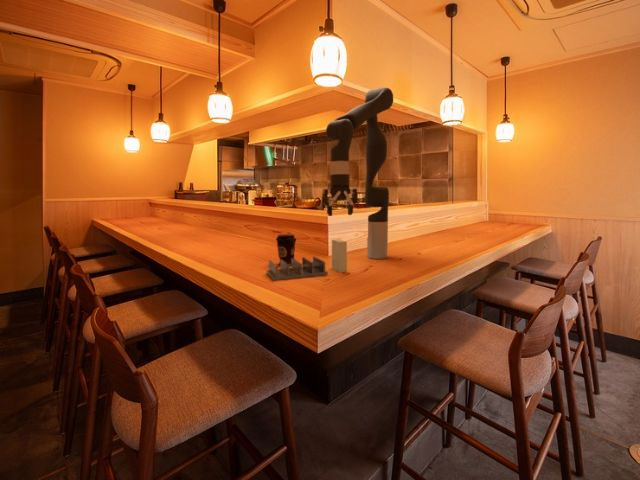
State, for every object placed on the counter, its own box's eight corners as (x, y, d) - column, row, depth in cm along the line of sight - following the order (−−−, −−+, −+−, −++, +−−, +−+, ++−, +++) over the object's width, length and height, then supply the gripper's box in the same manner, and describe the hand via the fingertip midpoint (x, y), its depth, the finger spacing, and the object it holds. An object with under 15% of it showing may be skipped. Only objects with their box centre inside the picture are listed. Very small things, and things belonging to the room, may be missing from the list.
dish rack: (266, 273, 133) (266, 260, 132) (316, 268, 140) (316, 256, 139) (273, 280, 122) (273, 266, 121) (327, 274, 129) (327, 261, 128)
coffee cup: (283, 267, 143) (282, 236, 141) (273, 264, 149) (272, 235, 147) (300, 264, 148) (299, 234, 146) (289, 261, 155) (288, 233, 153)
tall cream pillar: (332, 268, 140) (331, 239, 139) (338, 267, 141) (338, 239, 140) (339, 272, 133) (339, 242, 131) (346, 271, 134) (346, 241, 132)
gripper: (352, 174, 137) (351, 214, 140) (319, 174, 132) (319, 215, 134) (360, 173, 130) (360, 215, 133) (326, 173, 125) (327, 216, 127)
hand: (340, 215), depth 134 cm, fingers open, 8 cm apart
